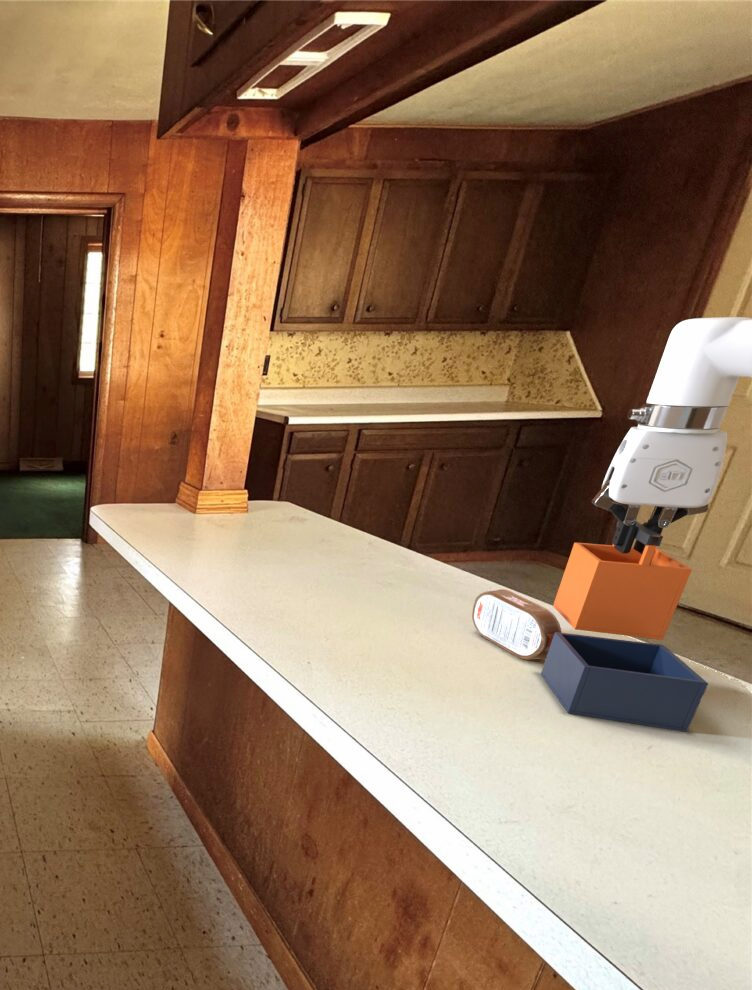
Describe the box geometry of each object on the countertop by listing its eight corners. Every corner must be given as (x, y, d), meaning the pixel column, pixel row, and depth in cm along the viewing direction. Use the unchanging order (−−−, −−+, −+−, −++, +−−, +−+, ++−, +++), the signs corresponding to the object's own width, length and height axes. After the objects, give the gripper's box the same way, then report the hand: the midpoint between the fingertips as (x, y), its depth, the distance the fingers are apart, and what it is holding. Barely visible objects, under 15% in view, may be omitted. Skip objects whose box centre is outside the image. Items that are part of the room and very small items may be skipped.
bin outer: (645, 689, 93) (663, 644, 90) (686, 732, 83) (708, 683, 81) (540, 674, 98) (554, 631, 95) (567, 713, 88) (584, 666, 85)
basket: (632, 614, 100) (669, 520, 95) (663, 640, 92) (705, 539, 86) (552, 605, 104) (583, 515, 99) (574, 629, 96) (609, 532, 90)
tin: (554, 668, 99) (572, 617, 96) (533, 669, 99) (550, 618, 96) (481, 627, 113) (494, 582, 110) (462, 628, 113) (475, 582, 110)
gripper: (614, 420, 87) (569, 553, 94) (781, 424, 81) (720, 566, 88) (593, 414, 93) (552, 539, 100) (746, 416, 87) (692, 550, 94)
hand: (631, 550), depth 94 cm, fingers closed on basket, 1 cm apart
